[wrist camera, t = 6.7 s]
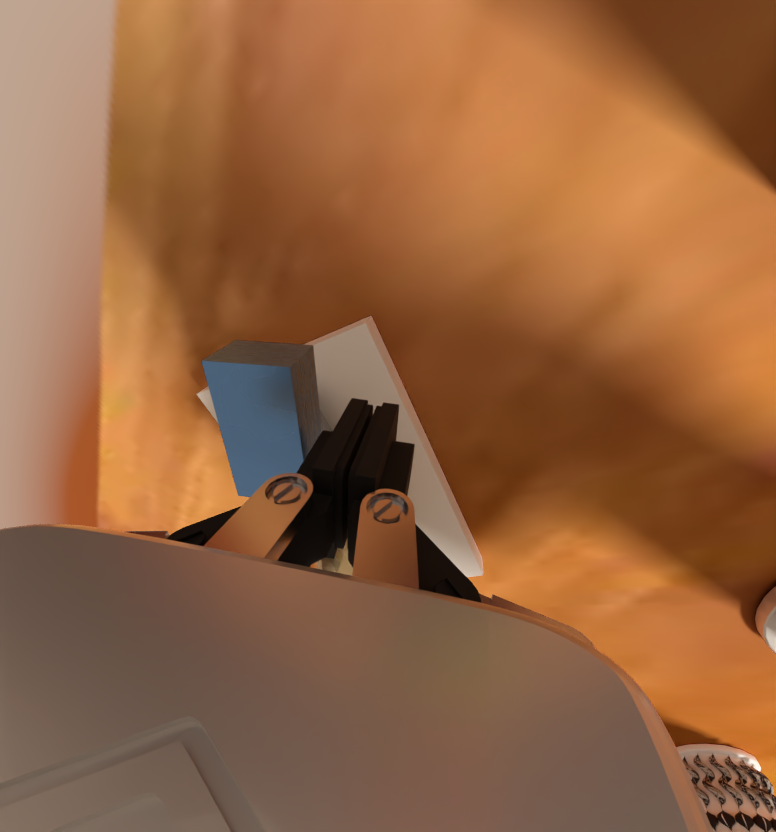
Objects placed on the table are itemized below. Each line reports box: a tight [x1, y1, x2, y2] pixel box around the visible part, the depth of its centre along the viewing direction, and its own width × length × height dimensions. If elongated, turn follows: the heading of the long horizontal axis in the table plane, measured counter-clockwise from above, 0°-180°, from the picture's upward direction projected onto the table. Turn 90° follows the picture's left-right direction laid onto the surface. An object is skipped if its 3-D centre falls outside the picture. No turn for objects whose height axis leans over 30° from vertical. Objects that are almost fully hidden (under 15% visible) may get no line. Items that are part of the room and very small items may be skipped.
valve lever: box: [202, 340, 322, 570], centre depth 14 cm, size 14×3×2 cm, turn 0°
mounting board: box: [197, 315, 484, 577], centre depth 25 cm, size 20×12×2 cm, turn 24°
